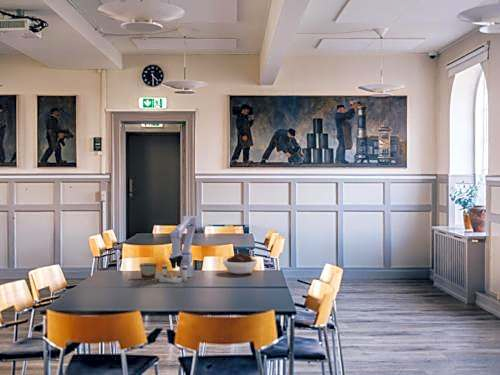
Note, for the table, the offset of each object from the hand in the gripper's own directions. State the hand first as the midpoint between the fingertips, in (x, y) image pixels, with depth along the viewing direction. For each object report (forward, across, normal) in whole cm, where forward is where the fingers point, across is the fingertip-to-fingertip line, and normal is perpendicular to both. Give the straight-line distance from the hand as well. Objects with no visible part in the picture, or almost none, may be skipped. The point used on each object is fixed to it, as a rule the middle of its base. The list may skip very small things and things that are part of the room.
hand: (176, 267), depth 403 cm
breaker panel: (+8, +8, 0) cm, 12 cm away
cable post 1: (+8, +2, -8) cm, 11 cm away
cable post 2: (+8, +2, +8) cm, 11 cm away
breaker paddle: (+5, +9, 0) cm, 11 cm away
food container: (+9, 0, -20) cm, 22 cm away
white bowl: (+9, -40, +32) cm, 52 cm away
